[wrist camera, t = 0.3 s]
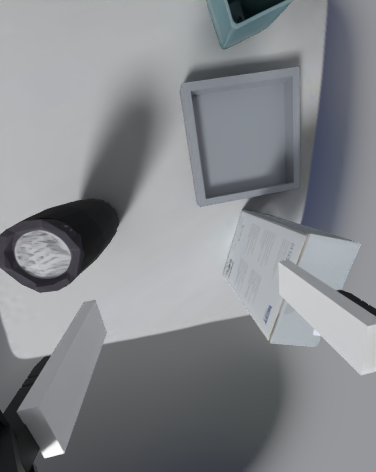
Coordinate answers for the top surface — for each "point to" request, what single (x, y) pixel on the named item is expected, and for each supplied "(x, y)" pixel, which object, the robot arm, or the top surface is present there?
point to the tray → (243, 134)
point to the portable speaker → (57, 243)
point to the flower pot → (243, 18)
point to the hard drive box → (267, 271)
